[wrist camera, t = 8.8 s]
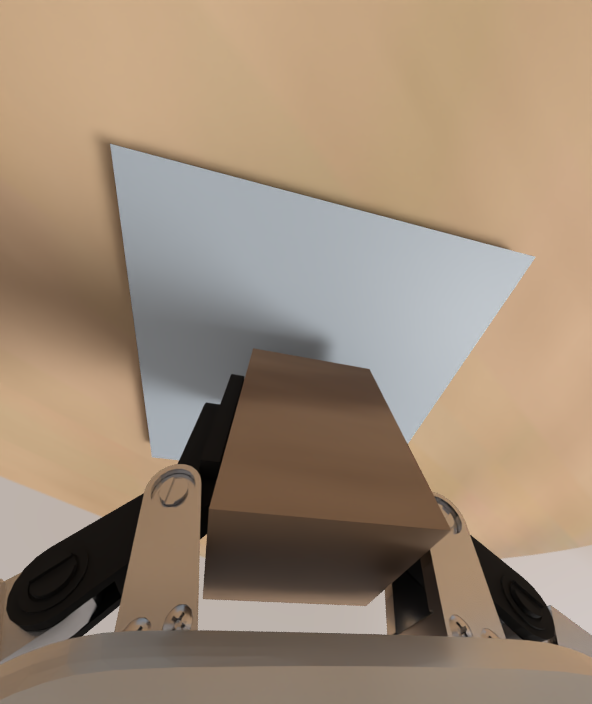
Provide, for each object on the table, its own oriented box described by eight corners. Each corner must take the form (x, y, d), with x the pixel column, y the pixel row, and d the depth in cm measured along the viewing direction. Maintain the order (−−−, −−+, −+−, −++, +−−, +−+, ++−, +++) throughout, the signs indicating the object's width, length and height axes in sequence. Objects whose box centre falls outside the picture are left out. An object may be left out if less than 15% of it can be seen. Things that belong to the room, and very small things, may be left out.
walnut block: (252, 348, 10) (209, 508, 4) (369, 369, 10) (451, 530, 5) (240, 432, 12) (202, 599, 7) (334, 444, 13) (365, 605, 7)
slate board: (125, 149, 8) (110, 143, 8) (519, 253, 10) (535, 257, 10) (157, 446, 16) (152, 457, 15) (377, 472, 18) (380, 483, 17)
